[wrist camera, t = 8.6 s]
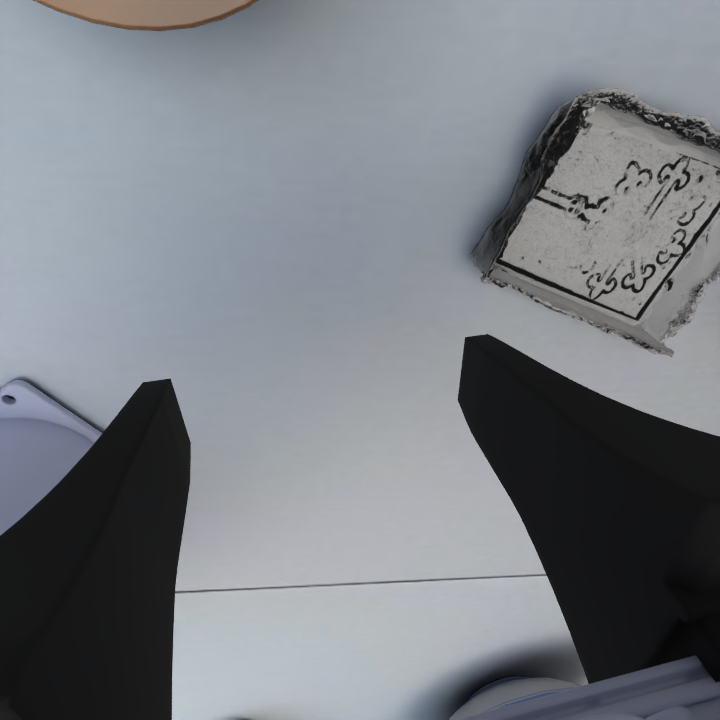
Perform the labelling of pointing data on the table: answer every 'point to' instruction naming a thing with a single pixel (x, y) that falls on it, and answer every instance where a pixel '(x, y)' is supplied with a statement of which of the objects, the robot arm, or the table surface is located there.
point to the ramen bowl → (510, 694)
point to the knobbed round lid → (149, 12)
